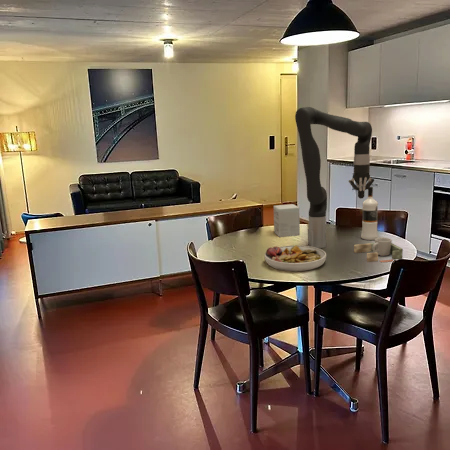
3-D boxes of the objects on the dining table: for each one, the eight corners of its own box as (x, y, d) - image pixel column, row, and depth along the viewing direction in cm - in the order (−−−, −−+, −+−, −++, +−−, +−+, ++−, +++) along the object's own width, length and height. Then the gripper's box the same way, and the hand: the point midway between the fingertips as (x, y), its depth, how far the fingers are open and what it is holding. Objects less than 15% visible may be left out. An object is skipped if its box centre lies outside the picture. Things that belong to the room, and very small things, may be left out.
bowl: (326, 255, 227) (326, 240, 225) (325, 274, 199) (325, 258, 197) (269, 254, 234) (268, 239, 233) (260, 272, 206) (259, 256, 204)
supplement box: (294, 230, 280) (293, 203, 276) (300, 235, 267) (299, 207, 263) (273, 232, 278) (272, 205, 274) (279, 237, 266) (278, 209, 262)
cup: (378, 259, 215) (379, 243, 213) (366, 255, 222) (367, 239, 220) (394, 255, 220) (395, 239, 218) (382, 251, 227) (383, 236, 225)
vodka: (366, 235, 258) (367, 185, 252) (380, 237, 252) (382, 186, 245) (358, 239, 252) (358, 187, 245) (373, 241, 246) (374, 188, 239)
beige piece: (368, 261, 212) (368, 252, 211) (353, 252, 228) (353, 242, 227) (402, 258, 214) (402, 248, 212) (385, 249, 230) (385, 240, 229)
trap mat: (381, 262, 210) (381, 262, 210) (379, 261, 212) (379, 260, 212) (395, 261, 210) (395, 260, 210) (392, 259, 213) (392, 259, 213)
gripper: (351, 164, 210) (351, 200, 214) (378, 163, 212) (377, 198, 216) (345, 163, 218) (345, 198, 221) (371, 161, 219) (370, 196, 223)
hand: (361, 198), depth 219 cm, fingers closed
